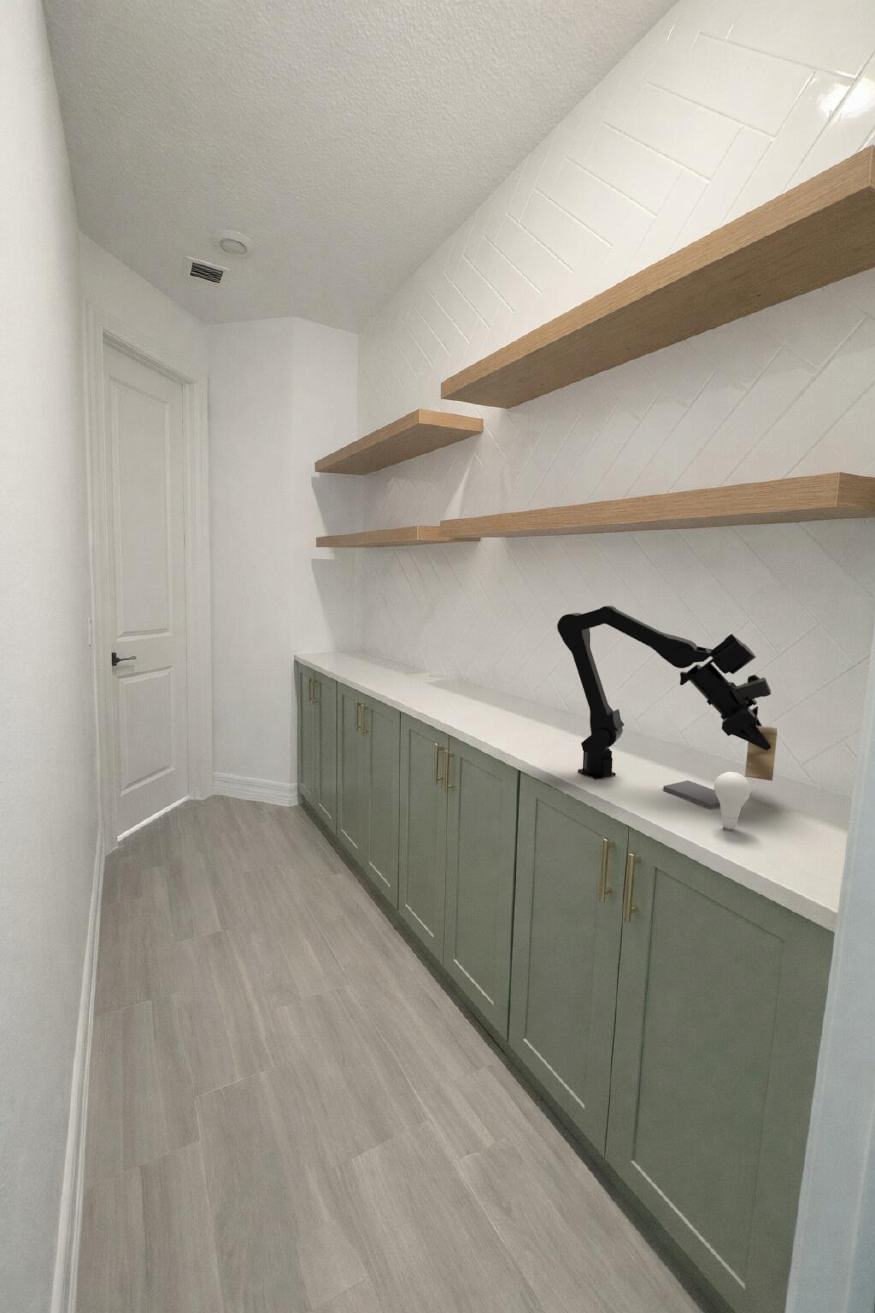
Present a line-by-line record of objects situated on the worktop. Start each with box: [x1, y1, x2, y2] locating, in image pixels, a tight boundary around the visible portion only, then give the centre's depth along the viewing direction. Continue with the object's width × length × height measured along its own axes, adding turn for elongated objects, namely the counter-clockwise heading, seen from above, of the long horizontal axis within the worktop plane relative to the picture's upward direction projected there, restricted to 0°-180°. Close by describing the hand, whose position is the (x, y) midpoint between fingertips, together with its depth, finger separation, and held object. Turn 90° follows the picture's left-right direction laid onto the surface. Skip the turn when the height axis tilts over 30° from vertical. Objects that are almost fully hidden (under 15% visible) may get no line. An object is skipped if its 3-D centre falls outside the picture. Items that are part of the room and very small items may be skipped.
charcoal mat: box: [662, 780, 721, 810], centre depth 129 cm, size 12×8×1 cm, turn 29°
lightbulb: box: [713, 771, 751, 830], centre depth 112 cm, size 6×6×11 cm
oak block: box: [744, 725, 778, 782], centre depth 125 cm, size 5×5×10 cm
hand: (769, 745), depth 124 cm, fingers closed on oak block, 5 cm apart
